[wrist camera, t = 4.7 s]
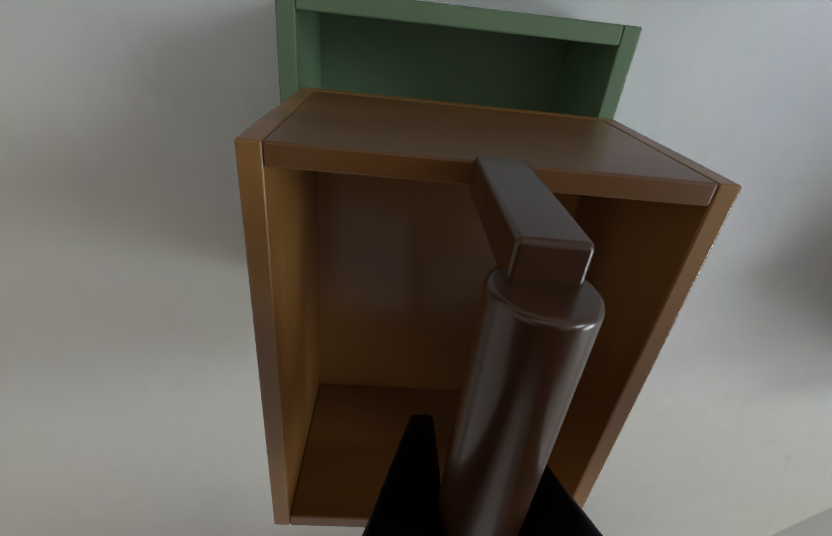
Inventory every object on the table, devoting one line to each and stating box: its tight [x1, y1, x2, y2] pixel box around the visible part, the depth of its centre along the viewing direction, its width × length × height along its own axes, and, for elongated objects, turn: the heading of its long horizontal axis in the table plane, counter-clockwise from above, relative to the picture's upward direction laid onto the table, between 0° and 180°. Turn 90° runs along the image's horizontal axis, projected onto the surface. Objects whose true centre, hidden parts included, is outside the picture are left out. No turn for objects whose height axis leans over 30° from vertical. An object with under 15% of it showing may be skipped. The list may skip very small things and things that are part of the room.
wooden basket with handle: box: [234, 87, 741, 536], centre depth 10 cm, size 10×8×8 cm
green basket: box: [275, 0, 642, 119], centre depth 16 cm, size 12×10×4 cm
